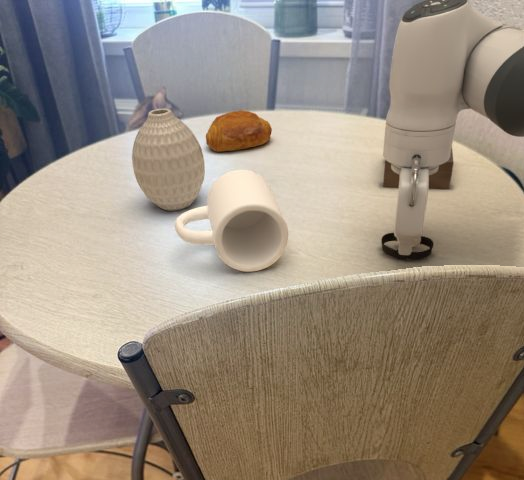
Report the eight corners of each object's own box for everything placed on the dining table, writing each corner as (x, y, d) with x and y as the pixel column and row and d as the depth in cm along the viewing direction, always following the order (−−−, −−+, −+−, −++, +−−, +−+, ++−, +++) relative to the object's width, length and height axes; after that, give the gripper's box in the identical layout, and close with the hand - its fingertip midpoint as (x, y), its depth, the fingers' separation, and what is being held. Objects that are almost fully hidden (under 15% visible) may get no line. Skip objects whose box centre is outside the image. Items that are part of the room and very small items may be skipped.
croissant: (275, 157, 123) (279, 121, 118) (208, 157, 119) (209, 120, 114) (261, 136, 133) (264, 102, 128) (199, 136, 130) (200, 101, 125)
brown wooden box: (447, 161, 109) (452, 125, 104) (449, 189, 98) (455, 150, 94) (387, 159, 111) (390, 125, 107) (383, 186, 101) (386, 149, 97)
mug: (274, 227, 91) (270, 164, 84) (290, 267, 81) (287, 199, 74) (179, 240, 90) (167, 177, 83) (182, 282, 79) (169, 214, 72)
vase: (127, 210, 100) (105, 117, 90) (173, 185, 108) (157, 97, 98) (179, 224, 94) (161, 127, 84) (222, 197, 102) (212, 105, 92)
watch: (433, 249, 82) (437, 228, 79) (429, 264, 78) (432, 242, 76) (383, 243, 84) (385, 222, 82) (377, 257, 81) (378, 236, 79)
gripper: (443, 174, 63) (427, 275, 71) (441, 120, 78) (427, 209, 87) (388, 172, 64) (379, 271, 73) (396, 119, 79) (388, 207, 88)
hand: (405, 237), depth 80 cm, fingers open, 8 cm apart
